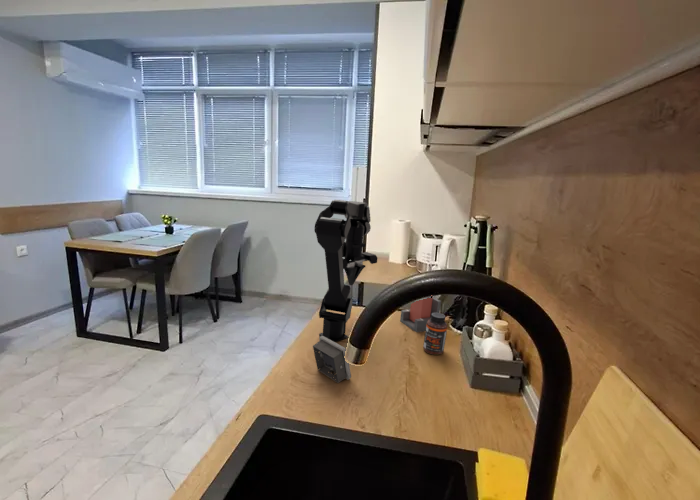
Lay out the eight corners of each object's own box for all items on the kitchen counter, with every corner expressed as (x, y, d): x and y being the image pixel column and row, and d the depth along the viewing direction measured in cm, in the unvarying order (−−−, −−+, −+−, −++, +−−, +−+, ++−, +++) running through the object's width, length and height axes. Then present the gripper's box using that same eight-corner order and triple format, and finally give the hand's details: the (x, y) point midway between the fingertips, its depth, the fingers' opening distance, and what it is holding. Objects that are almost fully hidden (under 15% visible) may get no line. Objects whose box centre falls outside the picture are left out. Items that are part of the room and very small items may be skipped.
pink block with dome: (419, 325, 126) (422, 294, 124) (408, 318, 131) (412, 289, 129) (429, 324, 128) (433, 293, 126) (419, 317, 133) (422, 288, 131)
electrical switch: (351, 379, 93) (352, 346, 91) (336, 389, 90) (336, 354, 87) (326, 364, 100) (326, 332, 97) (311, 372, 96) (310, 339, 94)
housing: (416, 332, 124) (420, 303, 122) (400, 321, 132) (403, 293, 130) (437, 329, 127) (441, 301, 125) (419, 318, 136) (423, 291, 134)
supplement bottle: (422, 353, 110) (427, 316, 107) (423, 344, 115) (428, 309, 113) (443, 357, 108) (448, 320, 106) (443, 348, 114) (448, 312, 112)
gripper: (357, 233, 137) (353, 275, 141) (317, 237, 124) (314, 283, 128) (380, 239, 130) (376, 283, 133) (340, 244, 117) (336, 292, 120)
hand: (350, 284), depth 129 cm, fingers closed
